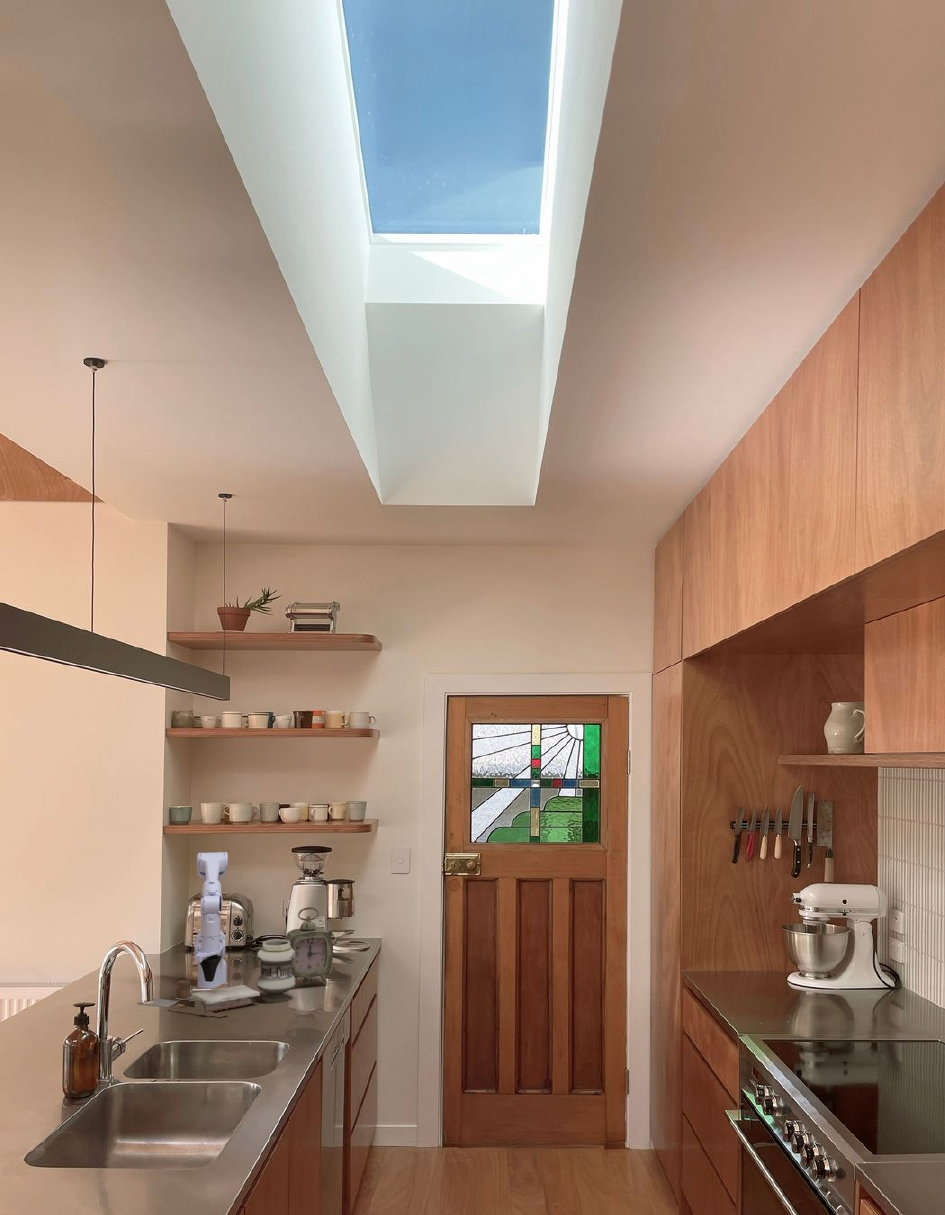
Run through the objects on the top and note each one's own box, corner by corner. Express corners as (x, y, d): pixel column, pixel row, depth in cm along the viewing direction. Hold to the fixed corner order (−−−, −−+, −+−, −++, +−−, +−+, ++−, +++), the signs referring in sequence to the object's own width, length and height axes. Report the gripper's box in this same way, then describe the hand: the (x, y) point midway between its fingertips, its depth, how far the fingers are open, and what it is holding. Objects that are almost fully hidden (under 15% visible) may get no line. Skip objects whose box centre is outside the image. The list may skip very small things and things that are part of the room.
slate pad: (149, 999, 333) (149, 997, 333) (179, 1003, 329) (179, 1001, 329) (137, 1004, 328) (137, 1002, 328) (167, 1008, 324) (167, 1006, 324)
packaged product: (190, 1008, 322) (205, 1017, 314) (191, 992, 322) (206, 1000, 315) (243, 999, 334) (259, 1007, 326) (244, 983, 334) (260, 991, 326)
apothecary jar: (248, 1000, 332) (249, 941, 334) (279, 993, 341) (280, 935, 343) (271, 1009, 324) (273, 948, 326) (303, 1000, 333) (304, 941, 334)
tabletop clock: (288, 990, 344) (290, 911, 346) (281, 983, 352) (283, 906, 354) (331, 985, 350) (333, 908, 352) (324, 979, 358) (325, 903, 360)
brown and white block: (175, 1000, 333) (175, 982, 333) (182, 997, 336) (183, 979, 337) (199, 1003, 330) (200, 985, 330) (207, 1000, 333) (207, 982, 334)
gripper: (211, 929, 335) (209, 974, 333) (186, 939, 321) (184, 986, 320) (231, 931, 333) (230, 975, 332) (207, 941, 319) (205, 988, 318)
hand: (209, 981), depth 325 cm, fingers closed
